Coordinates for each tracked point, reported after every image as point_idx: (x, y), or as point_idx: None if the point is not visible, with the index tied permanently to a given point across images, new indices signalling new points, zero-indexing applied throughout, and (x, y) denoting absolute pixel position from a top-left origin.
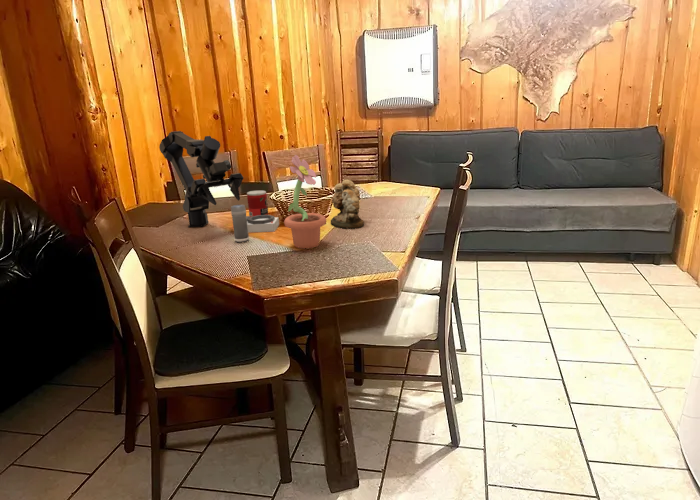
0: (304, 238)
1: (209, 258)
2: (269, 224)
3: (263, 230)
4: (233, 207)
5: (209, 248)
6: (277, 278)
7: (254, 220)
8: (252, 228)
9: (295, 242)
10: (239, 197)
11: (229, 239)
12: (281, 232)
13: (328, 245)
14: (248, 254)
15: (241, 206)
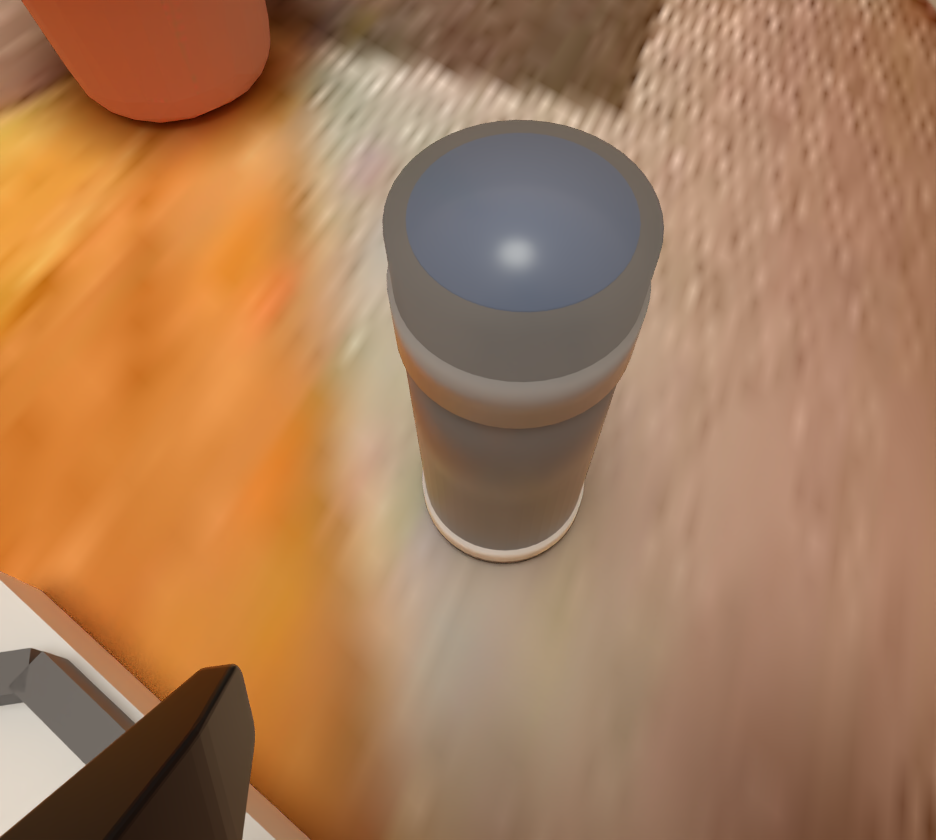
0: None
1: (893, 217)
2: (25, 599)
3: (123, 670)
4: (630, 182)
5: (869, 468)
6: None
7: None
8: None
9: (265, 17)
10: (189, 680)
11: (598, 653)
12: (24, 500)
13: None
14: (600, 135)
15: (483, 149)
